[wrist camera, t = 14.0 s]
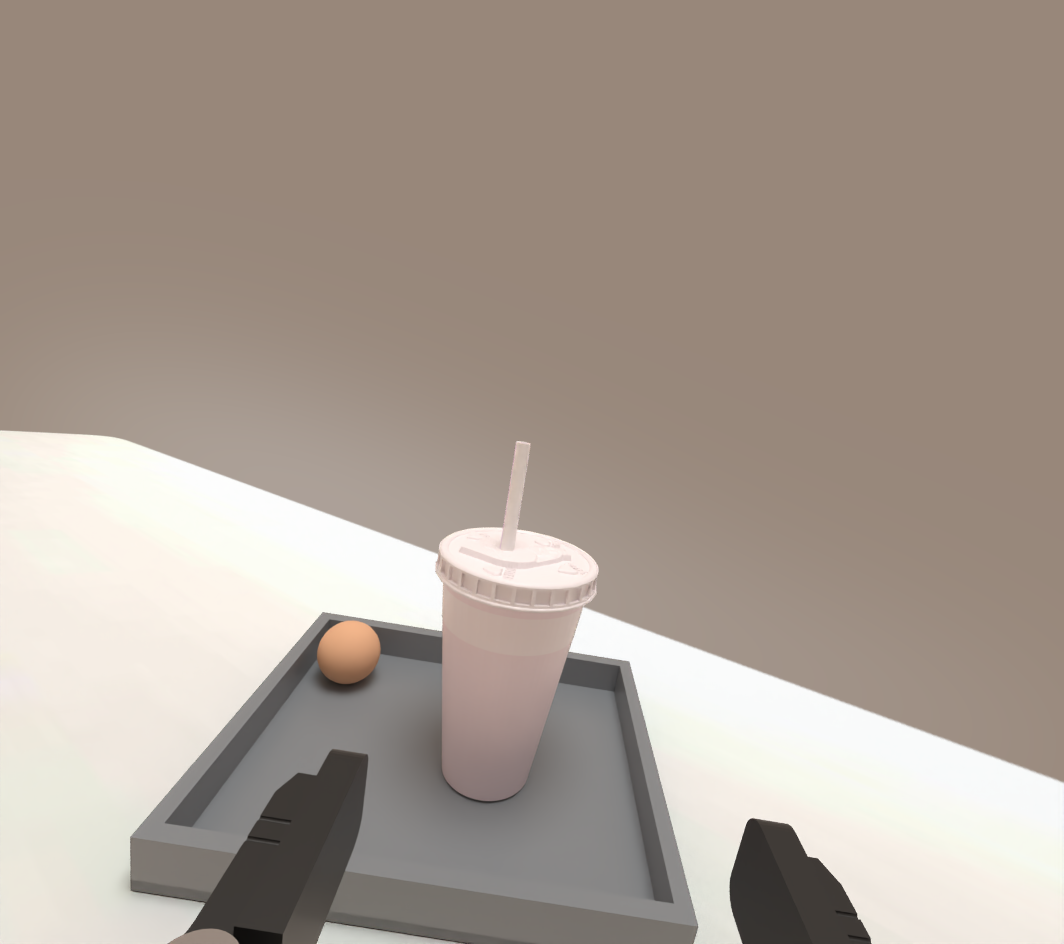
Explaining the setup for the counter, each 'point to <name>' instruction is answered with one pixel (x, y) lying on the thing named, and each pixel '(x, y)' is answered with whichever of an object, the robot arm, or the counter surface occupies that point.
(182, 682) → the counter surface
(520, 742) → the smoothie
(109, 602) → the counter surface
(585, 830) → the tray
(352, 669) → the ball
